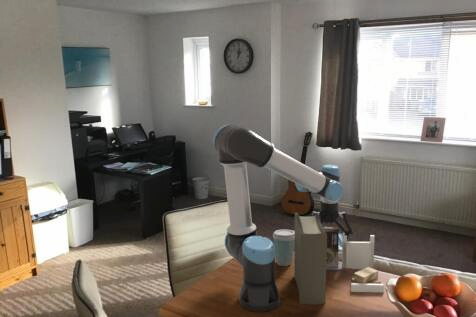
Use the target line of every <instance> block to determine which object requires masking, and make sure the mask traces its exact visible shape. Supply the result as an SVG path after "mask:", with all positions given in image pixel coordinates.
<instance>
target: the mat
mask: <svg viewBox="0 0 476 317" xmlns="http://www.w3.org/2000/svg"><path fill="white" fill-rule="evenodd" d="M326 271H342V265H341V263H340V262H339V265H338V267H329V266H326Z"/></svg>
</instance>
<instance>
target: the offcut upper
mask: <svg viewBox="0 0 476 317" xmlns="http://www.w3.org/2000/svg"><path fill="white" fill-rule="evenodd" d="M353 278H354V280H355V281H358V282H360V283H367V282H369V281H372V280H374V279H376V278H378V279H379V270H377V269H375V268H373V269H372V268H370V267H367V268H365V269H359V270H358V271H356V272H354V273H353Z"/></svg>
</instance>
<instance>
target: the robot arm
mask: <svg viewBox="0 0 476 317" xmlns="http://www.w3.org/2000/svg"><path fill="white" fill-rule="evenodd" d="M212 141H213V146H214V149H215V150H216V152H218V154H217V155H218V162H219V164H220V165H221V166H223V169H224V170H223V171H224V179H225V180H224V181H225V188H226V190H225V191H226V197H227V198H226V199H227V205H228V217H229V226H227V228H226V235H225V237H224V247H225V249H226V251H227V253H228V254H229V255H230V256H231V257H232V258H233V259H235V261H236V262H238V263H239V264H240V265H241V266H242V277H243V278H242V279H243V282H242V285H241V287H240V291H239V294H238V295H239V296H238V297H239V298H238V301H239V302H238V303H239V304H240V306H241V307H242V308H244V309H246V310H247V311H248V310H249V311H251V312H259V313H260V312H261V313H262V312H270V311H272V310H274V309H275V308H277V307H279V305H280V302H281V296H280V292H279V288H278V286H277V283H276V278H275V277H276V254H275V246H274V241H272V240H271V239H270V238H268V237H266V236H264V237H263V236H262V235H258V232H257V226H256V223H253V220H252V210H251V199H250V189H249V188H250V186H249V178H248V175H249V174H248V164H250V165H253V166H255V167H257V168H260V169H261V168H266V169H268V170H270V171H272V172H274V173H275V174H276V175H279V176H281V177H283V178H285V179H287V180H289V181H290V182H293V183H295V184H294V185H295V188H296V189H297V191H298V192H301V193H306V192H310V193H312V194H315V195H317V196H320V201H319V202H320V206H319V211H315V210H313V211H312V214H311V216H315V213H318V214H319V219H320V222H321V224H322V225H323V223H324V224H325V223H326V224H328V223H330V224H333V223H335V224H336V226H337V227H338V228H339V230H340V229H341V231H342V232H343V233H342V236H343V235H347V242H349V235H353V232H354V231H353V230H352V227H351V226H350V224H349V222H348V219H347V214H346V212H345V211H342V212H339V200H340V199H342V197H343V195H344V191H345V190H344V186H343V184H342V183H340V177H341V176H340V167H339V166H338V165H334V164H325V165H322V166H321V169H320V171H317V170H315V169H313V168H312V167H310V166H307V165H306V164H304V163H302V162H300V161H299V160H297V159H295V158H293V157H292V156H290V155H288V154H286V153H284V152H282V151H280V150H279V149H277V148H276V147H275V145H274V143H272V142H271V141H268V140H267V139H265V138H264V137H262V136H260V135H259V134H258V133H257V132H254V131H253V130H251V129H250V128H247V127H244V126H243V127H242V126H239V125H236V124H225V125H222V126H220V127H219V128H218V129H217V130H216V131H215V132H214V135H213V139H212ZM338 218H342V220H343V222H344V224H345V226H346V227H344V225H343V224H342V223H341V222H340V221H339V219H338ZM346 228H347V229H346Z"/></svg>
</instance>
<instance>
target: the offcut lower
mask: <svg viewBox="0 0 476 317" xmlns="http://www.w3.org/2000/svg"><path fill="white" fill-rule="evenodd" d="M350 281H351V282H350V284H351V283H360V282H358V281H355V280H354V277H351V280H350ZM367 283H371V284H382V281H381V280H380V279H379V277H378V278H376V279H374V280H372V281H369V282H367Z"/></svg>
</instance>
